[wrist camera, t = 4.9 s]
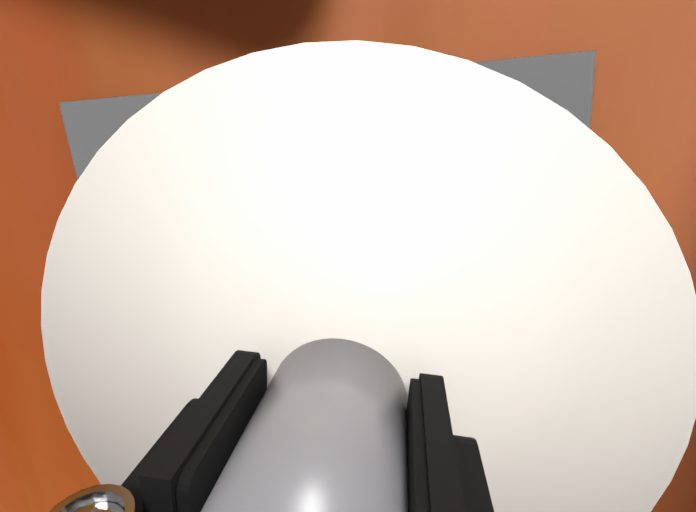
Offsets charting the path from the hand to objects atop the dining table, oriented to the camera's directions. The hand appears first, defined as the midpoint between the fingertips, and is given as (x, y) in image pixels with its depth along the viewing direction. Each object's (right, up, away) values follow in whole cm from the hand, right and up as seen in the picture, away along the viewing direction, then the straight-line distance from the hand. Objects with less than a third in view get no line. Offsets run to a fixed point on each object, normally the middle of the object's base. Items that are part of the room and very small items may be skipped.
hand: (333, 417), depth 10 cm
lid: (0, 0, +1) cm, 2 cm away
